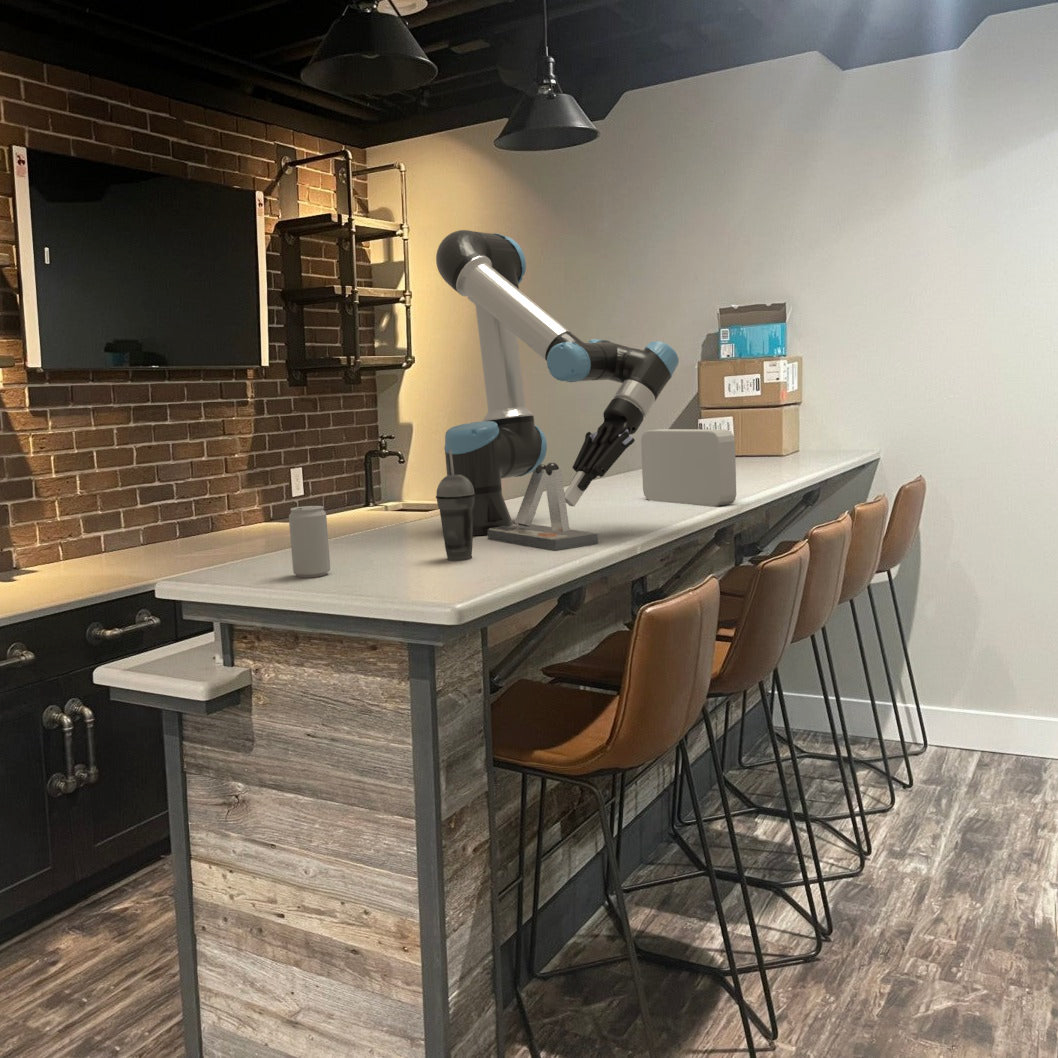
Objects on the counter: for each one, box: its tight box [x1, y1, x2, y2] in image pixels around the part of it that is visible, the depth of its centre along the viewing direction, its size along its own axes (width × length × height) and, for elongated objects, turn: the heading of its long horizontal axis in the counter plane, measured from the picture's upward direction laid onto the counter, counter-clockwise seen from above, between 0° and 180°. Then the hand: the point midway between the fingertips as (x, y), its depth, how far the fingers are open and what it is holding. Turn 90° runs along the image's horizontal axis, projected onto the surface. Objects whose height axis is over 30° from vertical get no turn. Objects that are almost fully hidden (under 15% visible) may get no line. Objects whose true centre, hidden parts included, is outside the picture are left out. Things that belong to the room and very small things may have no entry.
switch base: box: [487, 523, 599, 552], centre depth 206 cm, size 10×24×3 cm, turn 34°
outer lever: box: [543, 462, 571, 532], centre depth 198 cm, size 3×4×13 cm
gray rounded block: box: [640, 428, 737, 507], centre depth 257 cm, size 29×8×18 cm, turn 33°
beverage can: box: [288, 505, 331, 579], centre depth 180 cm, size 6×6×12 cm
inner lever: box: [514, 463, 547, 527], centre depth 212 cm, size 3×4×13 cm
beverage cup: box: [435, 450, 475, 562], centre depth 189 cm, size 7×7×20 cm
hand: (567, 501), depth 199 cm, fingers closed
